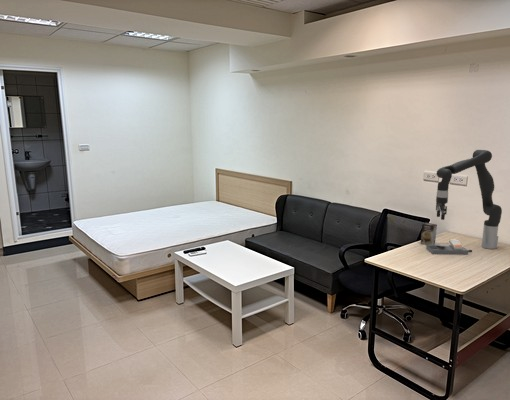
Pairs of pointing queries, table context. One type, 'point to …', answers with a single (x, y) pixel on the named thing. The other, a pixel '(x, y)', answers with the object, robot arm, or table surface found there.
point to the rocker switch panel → (446, 250)
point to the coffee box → (428, 233)
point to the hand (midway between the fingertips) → (440, 218)
